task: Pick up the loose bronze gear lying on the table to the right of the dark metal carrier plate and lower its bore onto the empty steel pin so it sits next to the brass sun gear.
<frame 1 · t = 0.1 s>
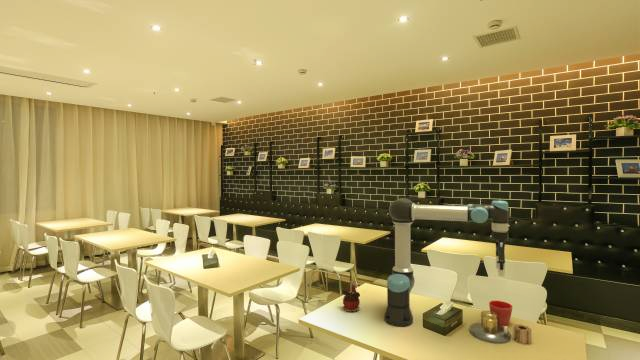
hand: (500, 272, 169), 28 cm above the table, fingers open, 13 cm apart
gear: (522, 340, 156), on the table
carrier: (489, 334, 162), on the table
red vase: (351, 309, 193), on the table
flower pot: (500, 322, 174), on the table
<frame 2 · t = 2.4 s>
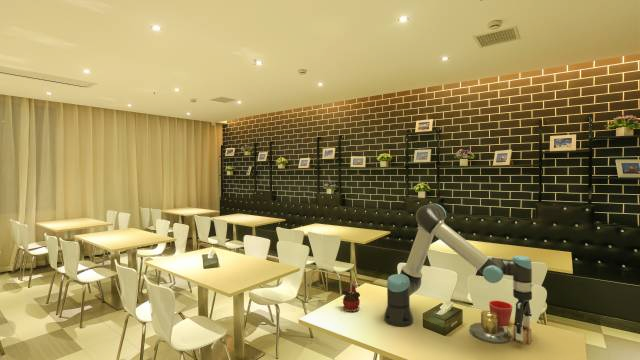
hand: (522, 334, 155), 3 cm above the table, fingers open, 13 cm apart
nothing on the table moved.
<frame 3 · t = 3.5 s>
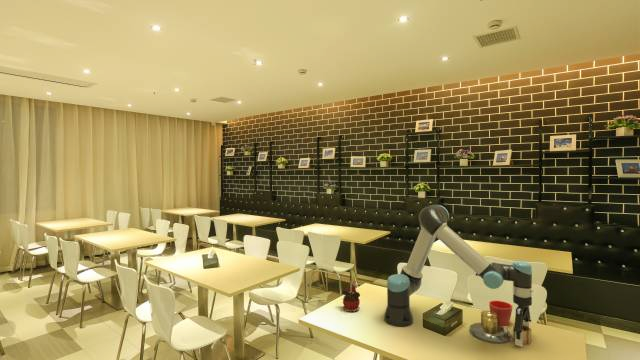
hand: (522, 340, 155), 0 cm above the table, fingers open, 13 cm apart
nothing on the table moved.
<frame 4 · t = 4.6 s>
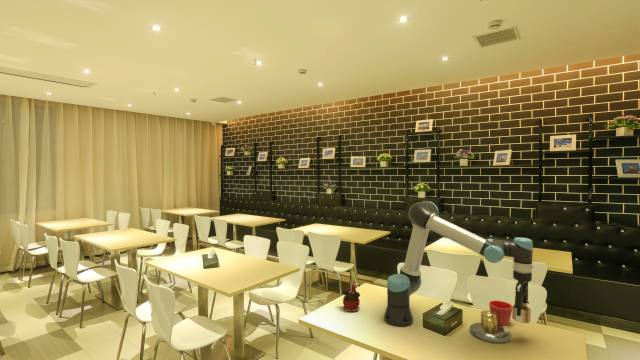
hand: (521, 319, 156), 10 cm above the table, fingers closed on gear, 7 cm apart
gear: (521, 319, 156), point 10 cm above the table, touching gripper
everything else where it was.
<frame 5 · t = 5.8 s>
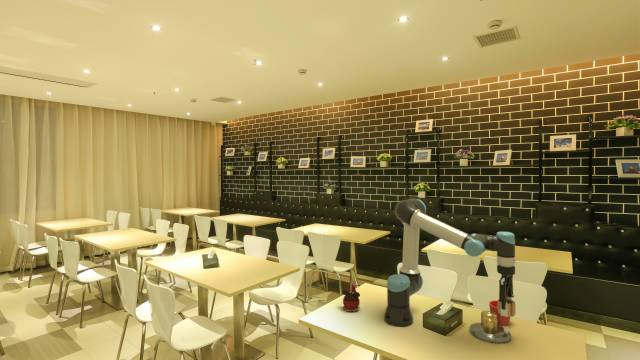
hand: (506, 313, 157), 12 cm above the table, fingers closed on gear, 7 cm apart
gear: (506, 313, 157), point 12 cm above the table, touching gripper
everything else where it was.
when the fingers open (3 cm above the table, at t = 7.4 s): gear drops 1 cm, resting on carrier.
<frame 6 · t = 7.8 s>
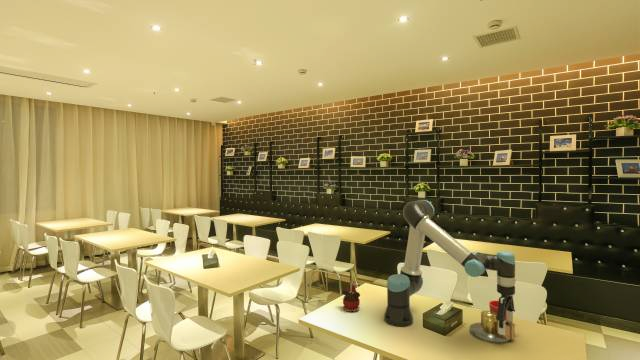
hand: (505, 329, 157), 5 cm above the table, fingers open, 13 cm apart
gear: (505, 335, 157), point 1 cm above the table, touching carrier
everything else where it was.
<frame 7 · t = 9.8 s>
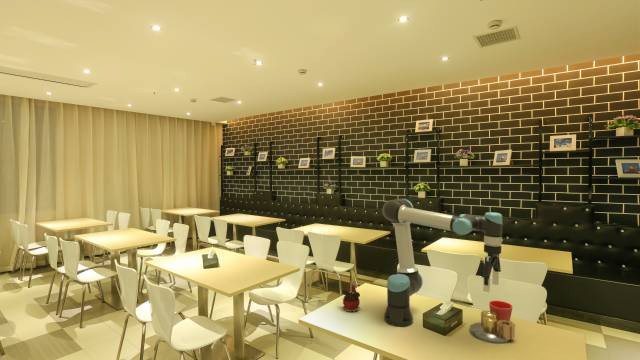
hand: (491, 287, 161), 23 cm above the table, fingers open, 13 cm apart
nothing on the table moved.
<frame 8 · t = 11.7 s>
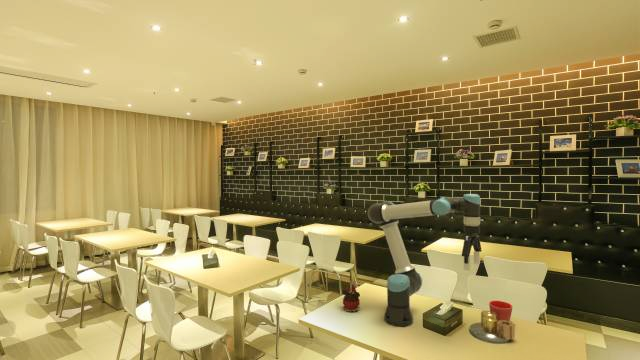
hand: (471, 266, 166), 32 cm above the table, fingers open, 13 cm apart
nothing on the table moved.
at the end: gear 0.1 cm from the target spot on the carrier, point 1.5 cm above the carrier's base; gear tilted 0°; the gripper is holding nothing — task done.
